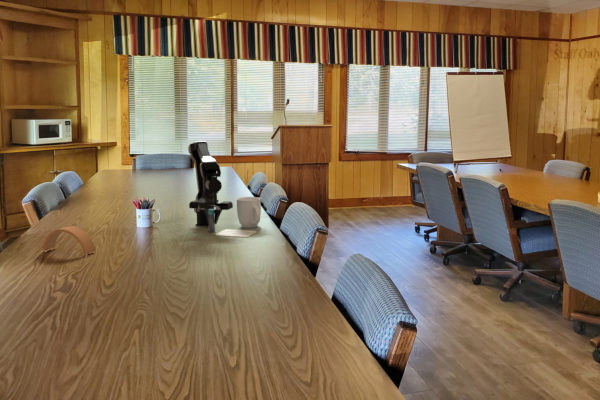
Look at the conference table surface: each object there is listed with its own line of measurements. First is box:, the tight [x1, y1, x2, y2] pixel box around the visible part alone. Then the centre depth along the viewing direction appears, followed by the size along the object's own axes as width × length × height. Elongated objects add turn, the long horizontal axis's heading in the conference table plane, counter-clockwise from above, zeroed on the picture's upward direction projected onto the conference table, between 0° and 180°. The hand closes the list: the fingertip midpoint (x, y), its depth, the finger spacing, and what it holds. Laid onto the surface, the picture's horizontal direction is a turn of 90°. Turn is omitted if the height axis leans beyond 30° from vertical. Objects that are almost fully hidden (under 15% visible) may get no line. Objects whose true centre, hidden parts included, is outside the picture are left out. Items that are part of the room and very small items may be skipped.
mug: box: [236, 196, 262, 229], centre depth 250 cm, size 15×11×13 cm
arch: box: [42, 225, 96, 256], centre depth 210 cm, size 6×20×10 cm, turn 71°
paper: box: [215, 228, 258, 238], centre depth 238 cm, size 15×11×1 cm
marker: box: [208, 208, 216, 233], centre depth 242 cm, size 3×3×10 cm
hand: (211, 224), depth 242 cm, fingers open, 4 cm apart
